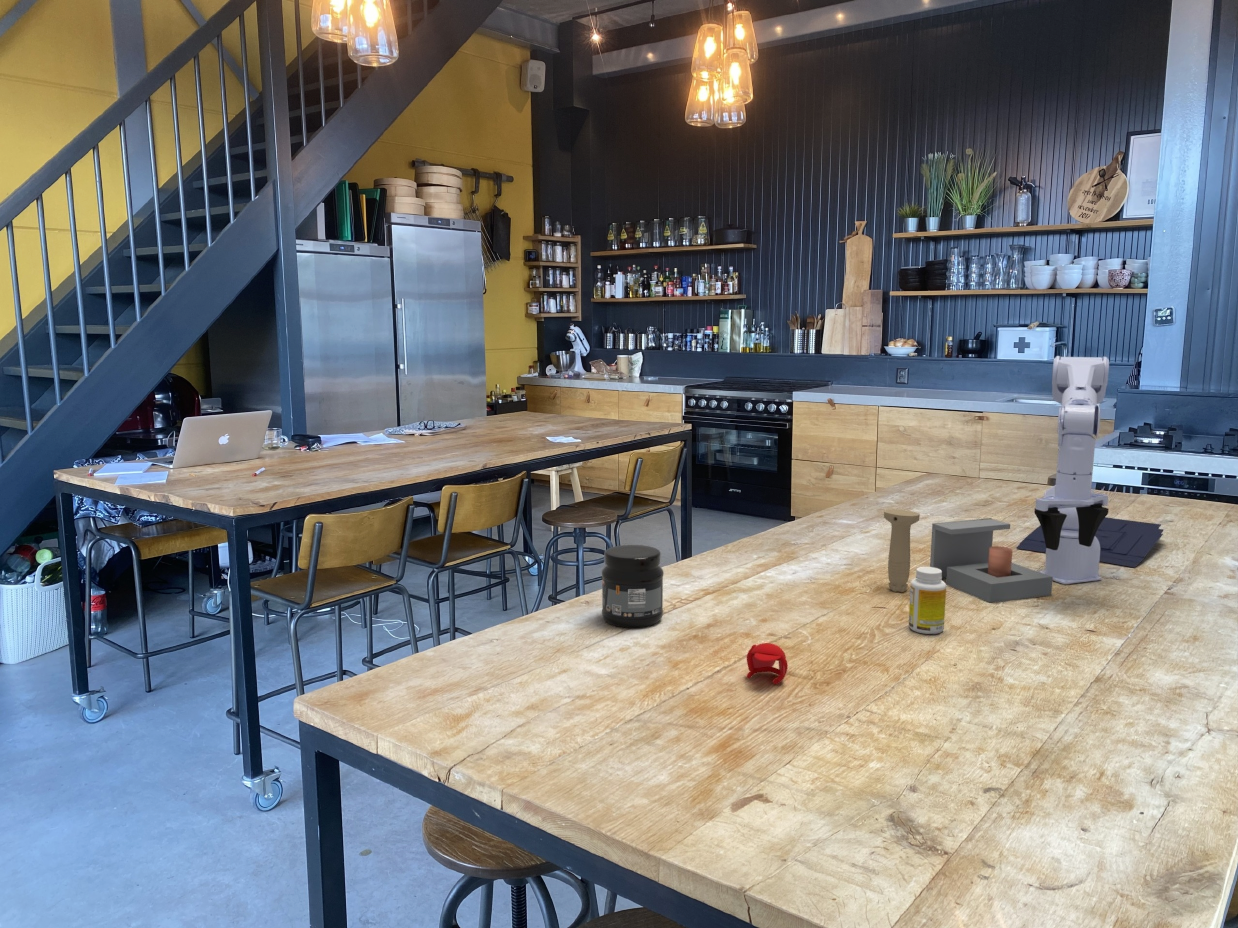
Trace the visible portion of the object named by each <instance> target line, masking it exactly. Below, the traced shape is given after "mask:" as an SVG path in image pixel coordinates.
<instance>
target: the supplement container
mask: <svg viewBox="0 0 1238 928" xmlns="http://www.w3.org/2000/svg"><path fill="white" fill-rule="evenodd" d="M661 554H662V553H661V551H660V549H658V548H656V547H653V546H649V545H643V544H642V545H641V544H622V545H615V546H612V547H608V548H607V549H606V550H605V551H604V555H603V556H604V564H605V566H603V568H602V570H601V574H600V575H601V579H602V580H601V582H602V583H601V586H602V588H601V591H602V593H601V594H602V596H601V597H602V601H601V602H602V606H601V607H602V609H601V616H602V618H603V620H605V621H606V622H607V623H608V624H611V625H612V626H616V627H620V628H626V629H627V628H628V629H629V628H630V629H636V628H646V627H650V626H652V625H655V624H657V623H659V622H660V620H661V619H662V618H663V616H664V615H663V614H664V609H663V607H664V606H663V603H664V601H663V598H664V597H663V596H664V595H663V591H664V590H663V588H664V586H663V585H664V581H663V580H664V576H665V575H664V569H663V568H662V567H661V565H660V564H661V560H662V558H661V557H662V556H661Z"/></svg>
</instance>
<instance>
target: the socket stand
mask: <svg viewBox="0 0 1238 928" xmlns="http://www.w3.org/2000/svg"><path fill="white" fill-rule="evenodd" d="M931 525H932V526H931V538H930V539H931V543H930V556H929V557H930V561H929V567H934V568H938V569H940V570H941V571H942V579H946V580H945V584H946V586H949V587H951V588H953V589H956V590H958V591H961V592H963V593H965V594H968V595H970V596H972V597H975V598H978V599H979V600H982V601H985V602H987V603H989V604H990V603H991V604H992V603H1000V602H1006V601H1007V602H1008V601H1015V600H1023V599H1032V598H1037V597H1046V596H1047V597H1048V596H1052V594H1053V593H1052V591H1053V577H1052V576H1049V575H1046V574H1043V573H1040V572H1037V571H1038V570H1034V569H1032V568H1029V567H1025V566H1023V565H1020V564H1017V563H1014V562H1012V564H1011V576H1007V577H998V578H997V577H995V576H992V575H989V574H988V562H989V548H990V547H993V539H994V531H1003V530H1010V529H1011V523H1009V522H1006V521H1002V520H998V519H995V518H991V517H989V518H988V517H987V518H976V519H967V520H965V519H964V520H955V521H944V522H935V523H934V522H932V524H931Z"/></svg>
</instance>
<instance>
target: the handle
mask: <svg viewBox="0 0 1238 928" xmlns="http://www.w3.org/2000/svg"><path fill="white" fill-rule="evenodd" d="M883 518H884V520H886V521H887V522H889V523H890V524H891V531H890V533H891V534H890V543H889V552H888V561H887V572H888V573H887V574H888V575H887V576H888V581H889V582H888V588H889V590H890V591H892V592H895V593H896V592H898V593H904V592H906V591H907V590H908V584H909V583H908V582H909V577H910V573H911V572H910V571H911V526H912V525H913V524H916V523H918V522H919V521H920V513H919V512H916V511H912V510H905V509H898V508H897V509H895V508H891V509H885V510H883Z"/></svg>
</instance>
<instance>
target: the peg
mask: <svg viewBox="0 0 1238 928" xmlns="http://www.w3.org/2000/svg"><path fill="white" fill-rule="evenodd" d="M1012 560H1013V549H1012V548H1010V547H1006V546H1001V545H1000V546H999V545H997V546H996V545H995V546H994V545H992V547H990V548H989V562H988V574H989V575H992V576H995V577H997V578H998V577H1007V576H1011V564H1012V563H1013V561H1012Z"/></svg>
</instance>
